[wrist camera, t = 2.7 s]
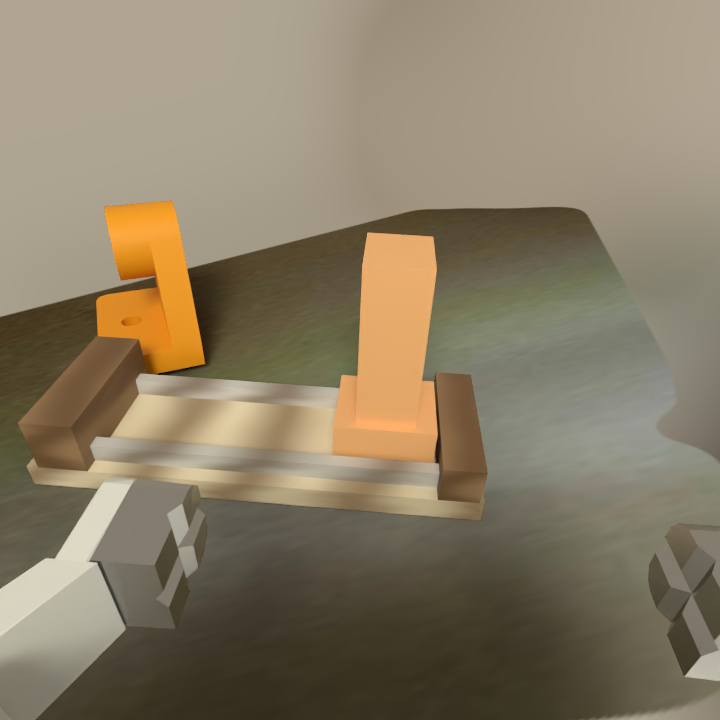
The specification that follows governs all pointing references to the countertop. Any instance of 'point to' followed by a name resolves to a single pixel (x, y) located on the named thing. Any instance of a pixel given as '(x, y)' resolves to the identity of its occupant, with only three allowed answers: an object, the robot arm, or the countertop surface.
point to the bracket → (154, 305)
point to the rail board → (242, 439)
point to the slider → (391, 356)
